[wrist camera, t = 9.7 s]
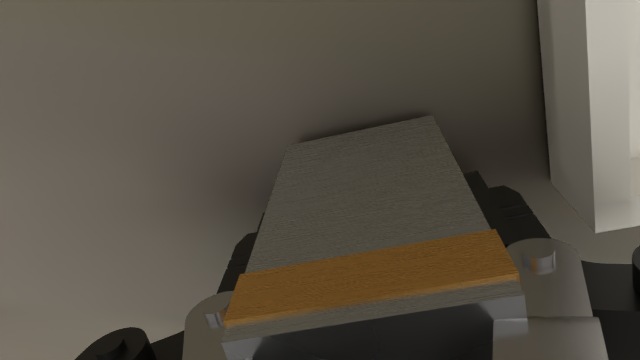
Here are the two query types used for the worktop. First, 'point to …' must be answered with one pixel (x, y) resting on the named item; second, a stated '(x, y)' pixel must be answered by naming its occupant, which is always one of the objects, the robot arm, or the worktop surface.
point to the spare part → (373, 256)
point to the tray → (593, 106)
